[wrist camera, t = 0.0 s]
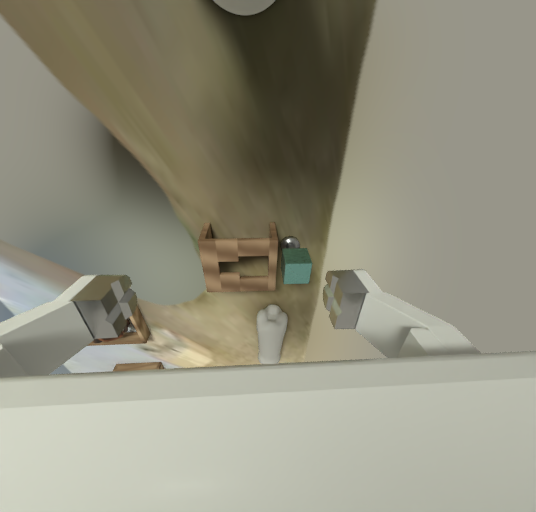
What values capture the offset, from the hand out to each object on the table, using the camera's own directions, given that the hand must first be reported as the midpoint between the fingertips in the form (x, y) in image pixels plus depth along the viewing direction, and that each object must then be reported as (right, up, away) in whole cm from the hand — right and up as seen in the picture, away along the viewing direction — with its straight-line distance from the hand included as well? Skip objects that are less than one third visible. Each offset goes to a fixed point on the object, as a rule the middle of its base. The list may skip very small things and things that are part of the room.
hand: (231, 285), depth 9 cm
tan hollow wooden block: (-5, +3, +45) cm, 46 cm away
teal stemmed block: (+7, +4, +45) cm, 46 cm away
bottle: (+2, -25, +66) cm, 71 cm away
